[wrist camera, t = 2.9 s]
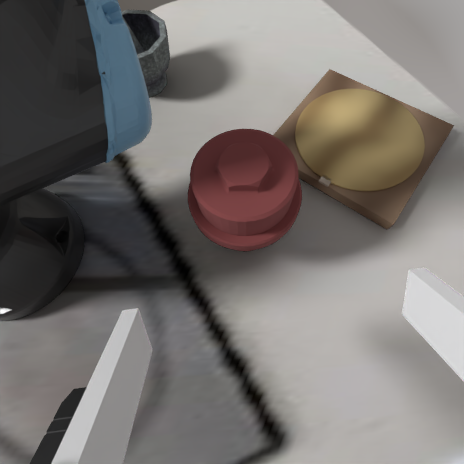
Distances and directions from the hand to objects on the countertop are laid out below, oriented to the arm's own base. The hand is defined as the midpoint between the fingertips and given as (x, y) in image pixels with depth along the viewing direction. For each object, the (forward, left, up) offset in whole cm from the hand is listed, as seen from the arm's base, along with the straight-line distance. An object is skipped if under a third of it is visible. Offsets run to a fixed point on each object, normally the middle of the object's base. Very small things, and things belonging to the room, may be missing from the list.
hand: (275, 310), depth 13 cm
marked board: (-3, +25, -15) cm, 29 cm away
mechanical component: (-8, +8, -15) cm, 19 cm away
